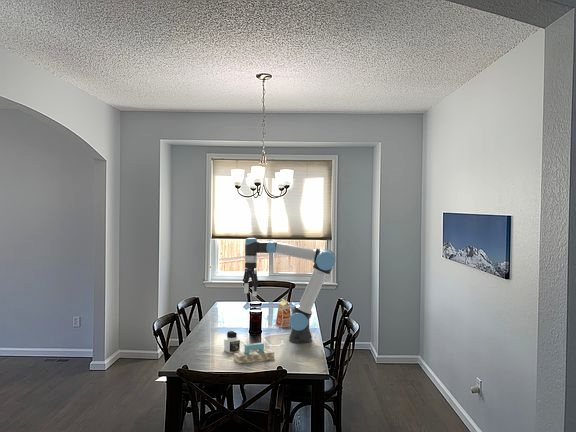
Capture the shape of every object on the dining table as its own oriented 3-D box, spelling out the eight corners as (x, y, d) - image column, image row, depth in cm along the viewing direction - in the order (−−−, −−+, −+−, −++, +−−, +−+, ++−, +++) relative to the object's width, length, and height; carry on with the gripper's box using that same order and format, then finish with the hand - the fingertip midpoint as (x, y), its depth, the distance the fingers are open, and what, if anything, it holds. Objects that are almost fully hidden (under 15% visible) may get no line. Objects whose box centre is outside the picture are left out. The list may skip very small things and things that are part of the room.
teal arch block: (261, 357, 319) (261, 342, 319) (263, 358, 316) (264, 343, 316) (244, 359, 314) (244, 344, 314) (246, 360, 311) (246, 345, 311)
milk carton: (275, 325, 407) (275, 298, 407) (285, 324, 413) (285, 297, 412) (282, 327, 400) (282, 300, 400) (292, 326, 405) (292, 299, 405)
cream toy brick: (268, 355, 324) (268, 349, 324) (274, 359, 316) (274, 352, 316) (233, 360, 314) (234, 353, 314) (239, 363, 306) (239, 356, 306)
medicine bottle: (229, 353, 328) (229, 333, 328) (223, 350, 334) (224, 331, 334) (239, 351, 333) (240, 331, 332) (233, 348, 338) (234, 329, 338)
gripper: (238, 260, 360) (237, 292, 361) (253, 264, 338) (252, 298, 338) (248, 260, 364) (248, 291, 364) (264, 263, 341) (263, 297, 342)
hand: (250, 294), depth 351 cm, fingers open, 13 cm apart
